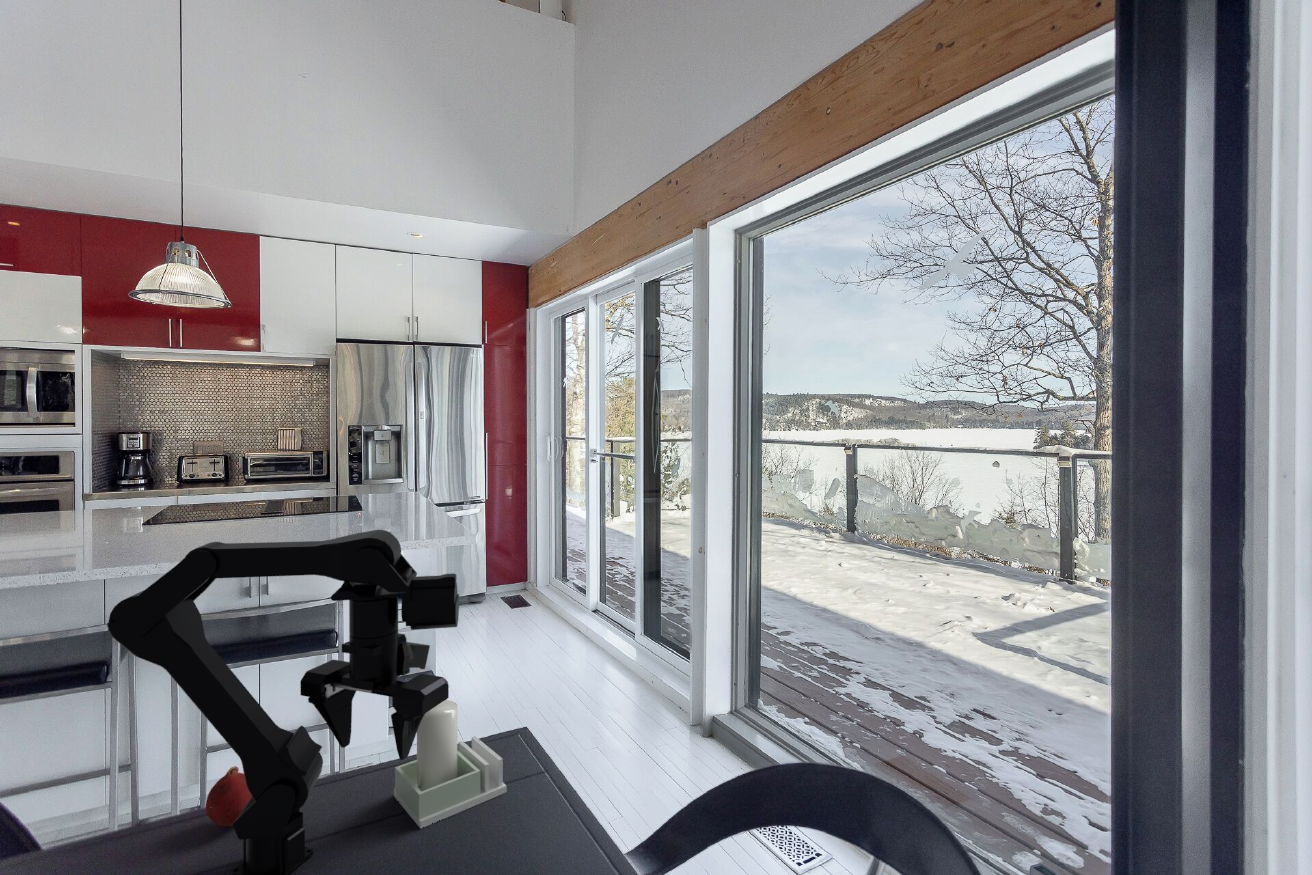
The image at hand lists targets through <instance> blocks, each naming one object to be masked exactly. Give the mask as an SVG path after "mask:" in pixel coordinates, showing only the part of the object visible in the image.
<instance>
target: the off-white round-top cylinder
mask: <svg viewBox="0 0 1312 875" xmlns="http://www.w3.org/2000/svg"><path fill="white" fill-rule="evenodd" d="M457 750H458V704H457V702H455V701H453V700H450V699H449V700H448V699H446V700H445V701H443V702H442V703H440V704H439V705H437V706H436V707H434V708H433V709H431V710H430V711H428V712H427V713H425V715H424V717H423V719H422V721H421V723H420V725H419V727H418V730H417V733H416V760H417V787H418V788H419V790H420V791H421V792H422V791H424V790H427V789H429V788H432V787H435V786H437V785H440V784H442V783H445V782H448V781H450V780H453V779H455V778H457Z"/></svg>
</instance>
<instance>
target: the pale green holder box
mask: <svg viewBox="0 0 1312 875" xmlns="http://www.w3.org/2000/svg"><path fill="white" fill-rule="evenodd" d="M503 760H504V759H503V757H501V756H500V755H499V754H497V752H495V751H494V750H493V749H491V748H490V746H488V745H486V744H485V743H484V742H483V741H481V739H479V737H477V736H475V735H474V736H472V737H471V747H470V746H469V745H468V744H467V743H465V741H463V740H460V741H458V749H457V778H455V779H453V780H450V781H448V782H445V783H442V784H440V785H437V786H435V787H432V788H429V789H427V790H424V791H422V792H421V791H420V790H419V788H418V787H417V759H414V760H412V761H409V762H406V763H403V764H401V765H398V766H395V767H394V789H393V797H394V798H395V800H396V801H397V802H398V801H399V802H398V803H399V804H400V806H402V808H403V809H404V810H405V811H406V813H407V814H408V815H409V816H410V818H411V819H412V820H413V821H414V822H415V824H416V825H417V826H418V828H420V829H424V828H426V827H428V826H431V825H433V824H435V823H437V821H438V822H439V820H440V821H442V819H443V820H445V819H447V818H449V817H452V816H454V815H456V814H459V813H462V812H464V811H465V810H468V809H470V808H473V807H476V806H478V805H480V804H482V803H485V802H486V801H490V800H491V799H494V798H496V797H499V796H501V795H503V794H506V793H507V790H508V787H507V784H505V782H504V780H503V776H504V774H503V773H504V772H503V767H504V765H503V764H504V762H503ZM432 823H433V824H432ZM423 827H424V828H423Z"/></svg>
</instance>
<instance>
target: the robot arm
mask: <svg viewBox="0 0 1312 875" xmlns="http://www.w3.org/2000/svg"><path fill="white" fill-rule="evenodd" d="M417 574H418V573H417V571H416V570H415V569H414V567H413V566H412V565H411V563H409V561H408V560H407V559H406V558H405V556H404V555H403V554H402V547H401V544H400V541H399V540H398V538H397V537H396V536H395V535H394V534H393V533H392V532H390V531H388V530H383V529H373V530H368V531H367V530H366V531H363V532H356V533H352V534H348V535H344V536H340V537H336V538H332V539H331V538H330V539H326V540H319V541H318V540H312V541H311V540H310V541H305V540H304V541H277V542H276V541H274V542H273V541H272V542H267V541H265V542H235V543H233V542H231V543H229V542H227V543H226V542H225V543H224V542H221V541H213V542H208V543H206V544H203V545H201V546H198V547H196V548H194V549H192V550H190V551H189V552H188V553H187V554H186V555H185V556H184V558H182V559H181V560H180V561H179V562H178V563H177V564H175V566H174V567H173V568H171V569H170V570H169V571H167V572H166V573H164V574H163V575H162V576H160V577H159V579H157V580H156V581H155V582H153V583H152V584H150V585H149V586H148V587H147V588H145V589H143V590H142V591H139V592H137V593H135V594H133V595H131V596H129V597H126V598H125V599H122V600H120V601H119V602H118V603H117V604H116V605H115V606H114V607H113V609H111V612H110V613H109V617H108V622H107V623H106V627H107V632H109V635H110V636H111V638H113V639H114V640H115V641H116V642H117V643H119V644H120V646H122V647H123V648H125V649H126V650H127V651H128V652H130V653H131V654H132V655H134V656H135V657H136V658H138V659H141V660H144V661H146V662H148V663H152V664H153V665H157V666H158V667H161V668H163V669H164V670H165V671H166V672H167V673H168V674H169V676H170V677H171V678H172V679H173V680H174V682H175V683H176V684H177V685H178V686H179V687H180V689H181V690H182V691H183V693H185V695H186V696H187V697H188V698H189V699H190V700H191V701H192V703H193V704H194V705H195V706H196V707H197V709H198V710H199V711H200V712H201V714H202V715H203V716H204V717H205V718H206V719H207V721H208V722H209V723H210V725H211V726H212V727H213V728H214V729H215V730H216V731H217V733H218V734H219V735H220V736H221V737H222V739H224V741H225V742H226V743H227V744H228V746H229V747H230V748H231V749H232V750H233V752H234V753H235V754H236V755H237V756H238V758H239V759H240V762H241V765H242V770H243V771H242V772H243V774H244V776H245V781H246V786H247V788H248V790H249V792H250V794H251V796H252V797H251V798H250V800H249V801H248V803H247V804H246V806H245V807H244V809H243V810H242V812H241V813H240V815H239V816H238V818H237V819H236V820H235V822H234V823H233V826H232V827H233V830H234V831H235V834H236V836H237V839H238V840H239V841H240V840H242V862H241V863H239V864H238V865H237V866H236V867H233V869H232V870H231V872H230V873H231V875H289V874H290V873H291V872H292V871H294V870H295V869H296V868H298V867H299V866H300V865H301V864H303V863H304V862H305V861H307V860H308V859H309V858H311V857H312V856H313V854H314V853H315V852H314V851H315V850H314V849H313V848H311V847H308V846H306V827H305V826H304V812H302V811H300V809H301V808H302V807H303V806H304V805H305V803H306V801H307V800H308V798H309V796H310V794H311V793H312V791H313V788H314V787H315V785H316V783H317V782H318V779H319V777H320V775H321V773H322V770H323V766H324V765H323V764H324V759H323V756H322V754H321V749H322V748H323V746H322V745H321V744H318V743H317V742H315V740H313V738H312V737H311V735H310V733H309V732H308V730H307V728H306V727H305V726H303V725H300V726H298V728H297V729H296V730H294V731H293V732H291V731H290V730H287V729H284V728H281V727H279V726H278V724H276V722H275V721H273V719H272V717H270V715H269V714H268V712H266V711H265V710H264V708H263V707H262V706H261V704H259V702H258V701H257V700H256V698H254V696H253V695H252V693H250V692H249V690H248V689H247V687H246V686H245V685H244V684H243V683H242V682H241V681H240V680H239V678H238V676H237V675H236V674H235V673H234V672H233V671H232V669H231V668H230V666H228V665H227V663H226V662H225V661H224V660H223V659H222V657H221V656H220V655H219V653H217V651H216V650H215V649H214V648H213V647H212V645H211V644H210V642H209V641H208V640H207V638H206V635H205V629H204V624H203V619H202V615H201V612H200V610H199V609H198V607H197V605H196V602H195V600H197V599H198V598H199V597H200V596H202V595H203V593H204V592H206V590H207V589H208V588H209V587H210V586H211V585H212V584H213V583H214V582H215V580H216V579H233V578H234V579H236V578H237V579H239V578H242V579H243V578H266V577H268V578H269V577H290V576H295V577H296V576H297V577H298V576H320V577H326V578H330V579H333V580H337V581H341V582H342V584H341V586H340V587H339V588H338V589H336V591H335V592H334V593H332V594H331V596H330V600H331V601H333V602H334V601H335V602H339V601H349V602H348V608H349V609H348V612H349V614H348V619H349V620H348V621H349V624H348V625H349V627H348V628H349V630H348V633H349V635H348V638H349V639H348V641H346V642H344V643H342V644H341V653H345V654H348V656H349V658H348V660H349V661H344V660H338V659H331V660H329V661H326V662H325V663H322V664H319V665H318V666H315V667H313V668H311V669H309V670H306V671H305V673H304V675H303V676H302V678H301V679H300V683H299V684H300V696H303V697H307V702H308V703H310V704H312V705H313V706H314V708H315V709H316V710H317V712H318V713H319V714H320V717H322V719H323V720H324V722H325V723H326V725H327V726H328V728H329V729H330V731H331V733H332V734H333V736H334V737H335V739H336V741H337V743H338V744H339V746H340V748H343V749H345V748H346V747H347V746H349V745H350V743H351V739H352V738H351V736H352V720H353V718H352V717H353V716H352V714H353V712H352V711H353V700H354V698H355V695H356V692H360V693H361V692H363V693H368V694H373V695H377V696H379V695H380V696H384V697H390V698H392V699H391V700H392V702H391V705H392V708H393V709H394V710H395V712H393V713H391V715H390V717H391V719H390V720H391V724H392V729H393V735H394V741H395V746H396V751H397V754H398V757H399V760H401V761H404V760H406V758H408V757H409V755H410V751H411V750H412V746H413V743H414V740H415V738H416V737H417V730H418V727H419V725H420V723H421V721H422V719H423V717H424V715H425V713H427V712H428V711H430V710H431V709H433V708H434V707H436V706H437V705H439V704H440V703H442V702H443V701H445V700H448V699H449V695H450V693H449V692H450V691H449V688H450V686H449V682H448V680H447V679H446V678H445V677H443V676H439V675H438V676H437V675H433V674H427V673H426V674H425V673H419V674H418V675H416V676H415V677H413V678H411V679H409V680H407V681H403V680H402V681H401V680H399V677H400V676H403V677H404V676H406V675H408V674H410V672H411V669H412V668H413V669H414V668H415V669H417V668H418V669H421V670H425V669H426V667H427V661H428V657H429V652H430V647H431V645H430V644H424V643H417V642H410V641H409V642H408V640H407V639H408V638H407V636H406V634H405V633H400V632H399V598H401V608H400V609H401V610H400V611H401V613H400V615H401V621H402V623H405V627H409V628H410V629H411V631H415V630H430V629H431V630H432V629H433V630H435V629H448V628H449V629H450V628H458V624H459V616H460V615H459V614H460V613H459V612H460V594H459V593H458V583H457V574H456V573H455V572H454V573H444V574H441V575H422V576H421V575H420V576H417Z"/></svg>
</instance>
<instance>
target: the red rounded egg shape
mask: <svg viewBox="0 0 1312 875" xmlns="http://www.w3.org/2000/svg"><path fill="white" fill-rule="evenodd" d="M251 797H252V796H251V794H250V792H249V790H248V788H247V786H246V781H245V776H244V772H243V773H242V772H239V767H238V766H236V765H234V766H232V767H230V768H229V769H228V770H227V771H226V773H225V775H223V776H222V777H221V778H219V780H218V781H216V783H215V784H214V785H213V786H212V787H211V789H210V790H209V792H208V794H207V796H206V801H205V812H206V815H207V816H208V818H209V820H211V822H212V823H214V824H216V825H219V826H225V827H233V823H234V822H235V820H236V819H237V818H238V816H239V815H240V813H241V812H242V810H243V809H244V807H245V806H246V804H247V803H248V801H249V800H250V798H251ZM210 807H212V808H210Z"/></svg>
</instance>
